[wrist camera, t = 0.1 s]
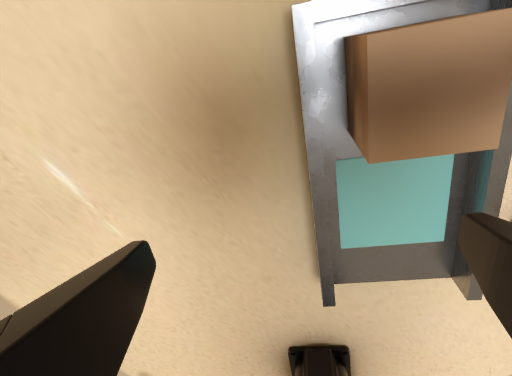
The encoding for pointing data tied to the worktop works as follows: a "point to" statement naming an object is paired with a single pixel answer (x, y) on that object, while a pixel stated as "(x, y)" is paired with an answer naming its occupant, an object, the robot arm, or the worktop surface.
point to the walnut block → (429, 86)
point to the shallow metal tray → (386, 173)
